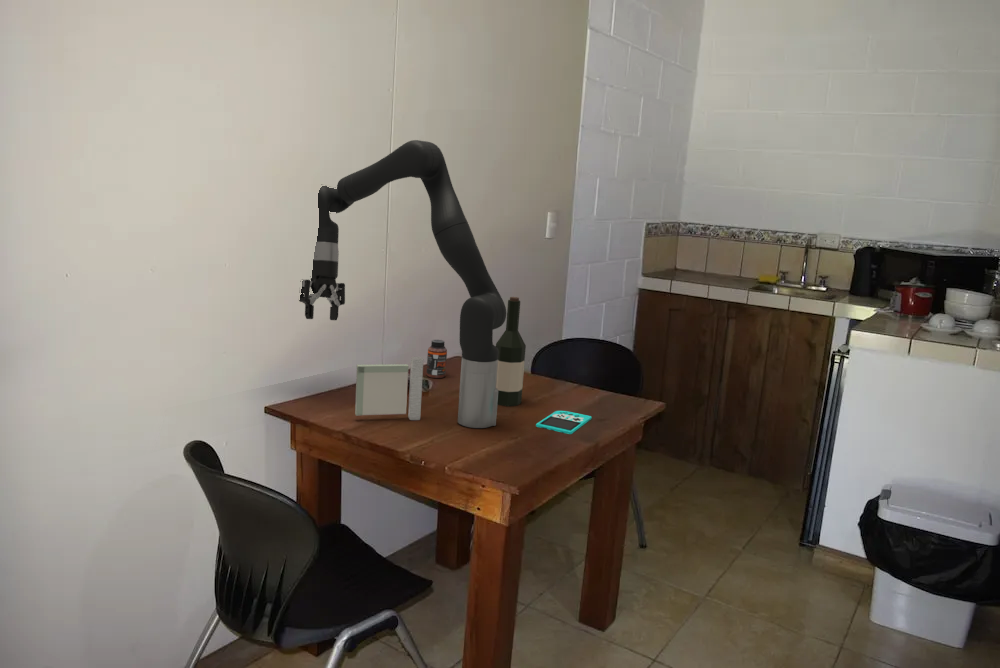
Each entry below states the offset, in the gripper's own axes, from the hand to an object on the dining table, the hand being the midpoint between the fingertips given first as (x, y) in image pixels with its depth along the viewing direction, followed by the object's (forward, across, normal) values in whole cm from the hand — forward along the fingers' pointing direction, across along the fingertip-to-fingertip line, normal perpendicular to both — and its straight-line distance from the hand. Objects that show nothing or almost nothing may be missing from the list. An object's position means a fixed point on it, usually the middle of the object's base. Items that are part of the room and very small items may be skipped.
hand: (321, 319), depth 211 cm
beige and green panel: (+23, -1, -24) cm, 33 cm away
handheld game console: (+25, +34, -58) cm, 71 cm away
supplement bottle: (+16, +42, -6) cm, 45 cm away
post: (+24, +6, -29) cm, 38 cm away
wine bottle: (+21, +37, -37) cm, 56 cm away
